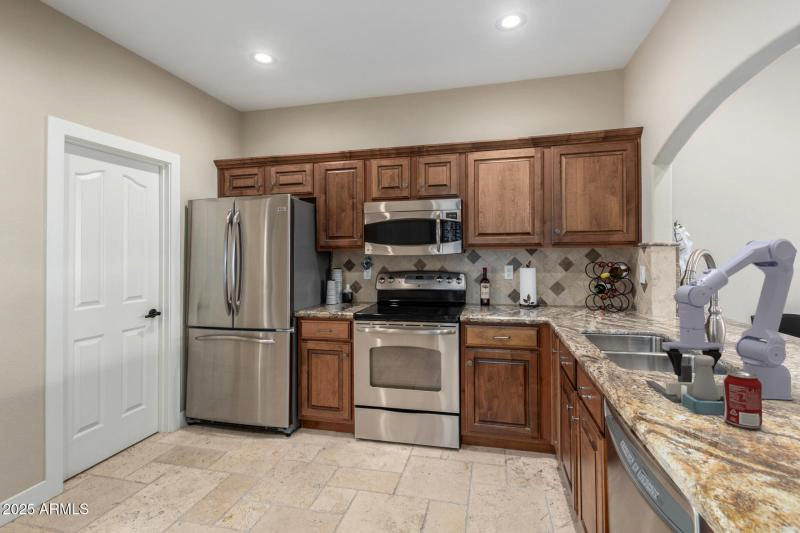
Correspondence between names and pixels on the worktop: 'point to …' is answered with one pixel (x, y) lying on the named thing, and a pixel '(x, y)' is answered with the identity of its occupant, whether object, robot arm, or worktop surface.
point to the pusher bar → (687, 383)
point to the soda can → (742, 399)
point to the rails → (663, 392)
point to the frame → (701, 404)
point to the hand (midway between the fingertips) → (692, 375)
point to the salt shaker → (704, 379)
